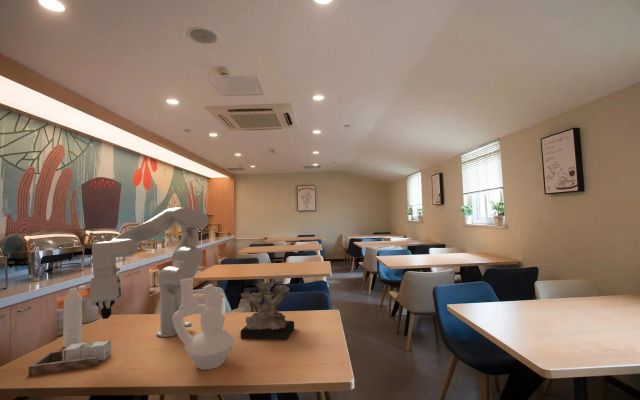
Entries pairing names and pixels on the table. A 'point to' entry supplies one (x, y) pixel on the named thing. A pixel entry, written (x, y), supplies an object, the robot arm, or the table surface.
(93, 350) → the syrup box
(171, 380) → the table surface
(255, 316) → the coral
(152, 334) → the table surface
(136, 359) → the table surface
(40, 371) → the u rest
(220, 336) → the white sculpture
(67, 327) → the water bottle
